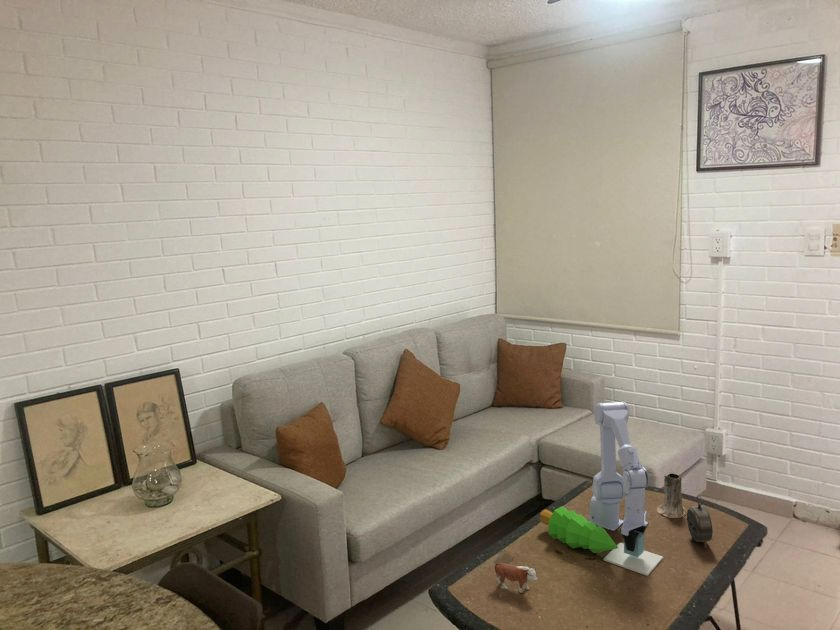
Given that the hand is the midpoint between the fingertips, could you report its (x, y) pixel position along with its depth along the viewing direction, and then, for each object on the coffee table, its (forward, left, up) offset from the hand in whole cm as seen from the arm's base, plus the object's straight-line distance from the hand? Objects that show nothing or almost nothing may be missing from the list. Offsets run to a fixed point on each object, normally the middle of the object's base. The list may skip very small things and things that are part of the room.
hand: (633, 546), depth 206 cm
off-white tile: (0, 0, -4) cm, 4 cm away
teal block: (0, 0, -2) cm, 2 cm away
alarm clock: (+12, +22, -4) cm, 25 cm away
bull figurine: (-20, -35, -4) cm, 41 cm away
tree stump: (-2, +37, -4) cm, 37 cm away
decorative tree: (-17, -4, -4) cm, 18 cm away
